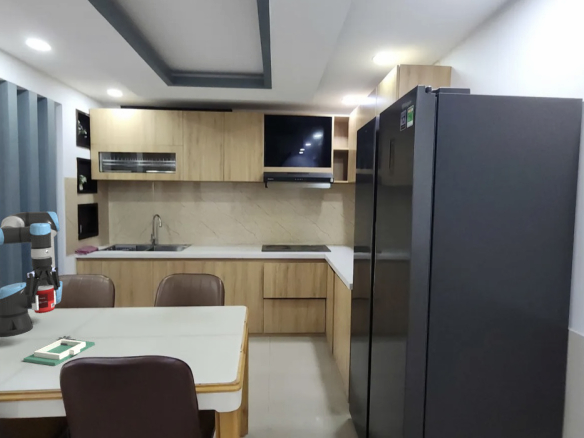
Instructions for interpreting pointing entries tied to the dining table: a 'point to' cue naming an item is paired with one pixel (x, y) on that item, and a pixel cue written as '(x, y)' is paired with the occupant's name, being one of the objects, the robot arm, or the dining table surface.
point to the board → (58, 351)
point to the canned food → (45, 298)
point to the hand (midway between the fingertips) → (44, 306)
